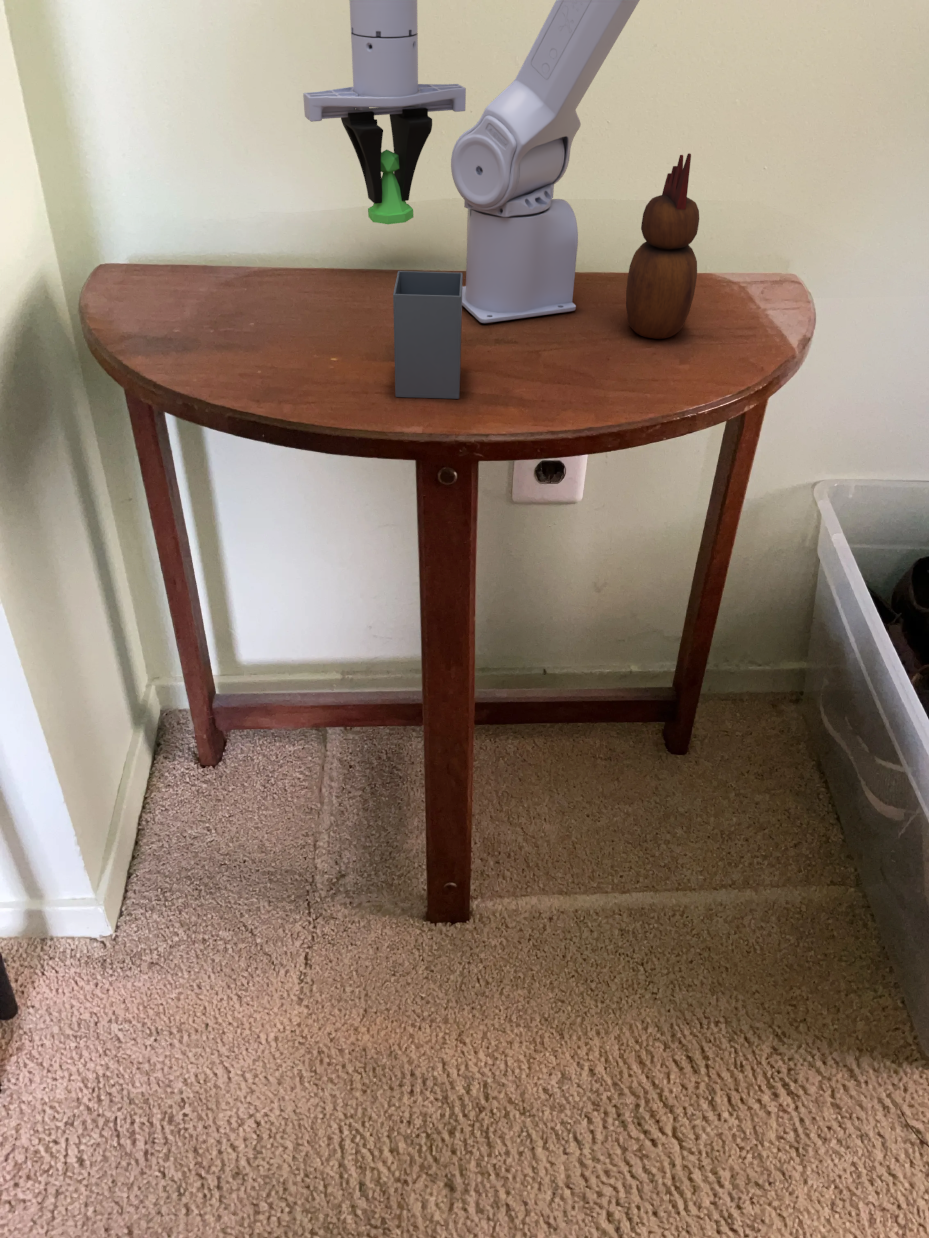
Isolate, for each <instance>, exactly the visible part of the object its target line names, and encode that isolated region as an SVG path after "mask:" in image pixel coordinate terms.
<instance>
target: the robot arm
mask: <svg viewBox="0 0 929 1238" xmlns="http://www.w3.org/2000/svg"><path fill="white" fill-rule="evenodd" d="M348 1H349V20H350V21H349V22H350V45H351V65H352V66H351V67H352V86H347V87H341V88H334V89H328V90H320V91H311V92H303V93H302V94H303V95H302V97H303V98H302V99H303V107H304V108H303V109H304V118H306V119H307V120H308V121H310V123H311V122H313V123H314V122H322V121H323V120H328V119H340V120H341V124H342V126H343V129H344V130H345V132H346V134H347V136H348V138H349V140H350V143H351V144H352V146H353V149H354V152H355V154H356V157H357V159H358V163H359V165H360V169H361V171H362V175H363V178H364V179H363V180H364V183H365V187H366V192H367V199H369V200H370V201H371V202H372V203H373V204H374V203H375V204H377V203H382V181H381V178H382V172H381V152H382V147H383V136H384V129H383V128H382V127H381V126H379V124H378V119H375V116H387V115H388V116H389V123H390V127H391V135H392V137H391V138H392V147H393V153H395V154H397V155H398V157H399V169H398V170H396V171H394V175H395V177H396V179H397V182H398V184H399V187H400V192H401V198H402V201H406V202H408V201H410V194H411V188H412V183H413V179H414V175H415V171H416V168H417V164H418V161H419V159H420V157H421V153H422V150H423V148H424V146H425V144H426V142H427V140H428V138H429V137H430V134H431V133H432V129H433V118H432V117H430V116H429V113H432V112H433V113H434V112H445V111H448V112H449V111H452V112H455V113H457V112H466V104H467V103H466V102H467V100H466V96H467V88H466V87H464V86H463V85H461V84H459V83H419V40H418V39H419V37H418V36H419V35H418V29H419V28H418V25H419V24H418V0H348ZM639 3H640V0H555V2H554V3H553V4H552V7H551V10H550V11H549V13H548V15H547V16H546V19H545V20H544V22H543V25H542V27H541V28H540V30H539V32H538V34H537V37H536V38H535V40H534V42H533V44H532V46H531V47H530V50H529V52H528V53H527V55H526V57H525V59H524V61H523V63H522V65H521V67H520V69H519V70H518V73H517V75H516V76H515V79H514V80H513V81H512V82H511V83H510V84H509V85H508V86H507V87H506V88H505V89H504V90H502V91H501V93H499V94H498V95H497V96H496V97H495V98H493V100H491V102H490V103H489V104H487V106H485V108H484V110H483V112H482V114H481V116H480V118H479V120H478V121H477V122H476V124H474V125H473V126H471V128H469V129H467V130H465V131H464V132H463V133H462V134H461V135H460V136H459V137H458V139H457V140H456V142H455V143H454V146H453V149H452V152H451V158H450V170H451V176H452V180H453V183H454V186H455V188H456V189H457V192H458V193H459V195H460V197H461V198H463V200H464V203H463V204H464V208H465V209H467V215H466V216H467V217H466V219H467V220H466V224H467V225H466V227H467V228H466V258H465V261H466V262H465V263H466V264H465V285H462V307H463V308H464V309H465V310H466V311H467V312H468V313H470V314H471V315H472V316H473V317H474V318H475V319H476V320H477V321H478V322H479V323H480V324H491V323H497V322H504V321H505V322H506V321H512V320H520V319H526V318H527V319H528V318H533V317H541V316H547V315H548V316H549V315H555V314H562V313H571V312H574V311H576V309H577V305H576V304H575V303H574V302H573V297H574V289H575V277H576V266H577V257H578V256H577V255H578V245H579V232H578V231H579V229H578V222H577V218H576V215H575V211H574V209H573V208H572V206H571V204H570V203H569V202H568V201H566V200H565V199H563V198H554V191H555V185H557V183H558V182H560V180H561V179H562V178H563V177H564V176H565V173H566V171H567V169H568V168H569V163H570V156H571V149H572V148H571V147H572V144H573V142H574V139H575V137H576V135H577V133H578V131H579V130H580V128H581V120H580V117H579V115H578V113H577V108H578V106H579V105H580V104H581V101H582V100H583V98H584V96H585V94H586V93H587V91H588V90H589V87H590V86H591V84H592V82H593V81H594V80H595V78H596V76H597V74H598V72H599V70H600V69H601V68H602V66H603V64H604V62H605V60H606V59H607V57H608V56H609V54H610V53H611V51H612V49H613V48H614V46H615V43H616V42H617V40H618V38H619V37H620V35H621V33H622V32H623V30H624V28H625V26H626V25H627V23H628V21H629V20H630V18H631V16H632V14H633V13H634V11H635V9H636V8H637V7H638V4H639Z"/></svg>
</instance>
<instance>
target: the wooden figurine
mask: <svg viewBox="0 0 929 1238" xmlns="http://www.w3.org/2000/svg"><path fill="white" fill-rule="evenodd" d="M691 160H692V154H691V153H687V155H686V158H685V161H684V155H683V154H680V155H679V157H678V161H677V165H673V166H672V168H671V172H669V173H667V174H666V178H665V181H664V186H663V189H662V193H661V194H660V195H656V196H654V197H652V198H651V199H650V200H649V201H648V203H647V204H646V205H645V208H644V210H643V213H642V218H641V223H640V224H641V227H640V230H641V234H642V237H643V239H644V240H645V241H644V242H643V243H642V244H640V245H639V247H638V248H637V249H636V250H635V252H634V254H633V255H632V258H631V261H630V264H629V268H628V274H627V280H626V288H625V309H626V317H627V321H628V325H629V327H630V328H631V329H632V331H633V332H634V333H636V334H637V335H639V336H640V337H644V338H649V339H655V340H661V339H667V338H671V337H673V336H675V335H676V334H677V333H679V332H680V331H681V330H682V328H683V326H684V325H685V323H686V322H687V318H688V316H689V313H690V312H691V308H692V305H693V304H692V303H693V301H694V296H695V291H696V285H697V279H698V260H697V257H696V255H695V252H694V249H693V248H692V247H691V246H690V245H691V243H692V242H693V241H694V240H695V238H696V237H697V235H698V230H699V225H700V209H699V207H698V204H697V203H696V201H695V200H693V199H691V198H690V197H688V189H689V180H690V172H691Z"/></svg>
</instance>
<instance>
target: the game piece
mask: <svg viewBox="0 0 929 1238" xmlns="http://www.w3.org/2000/svg"><path fill="white" fill-rule="evenodd" d="M398 169H399V157H398V155H397V154H395V153H394V151H391V150H389V149H385V150H383V151H381V173H382V174H381V181H382V203H377V204H375V203H373V205H372V206H370V207H368V208H367V216H368V218H369V219H370V221H371V222H372V223H376V224H382V225H383V224H384V225H396V224H403V223H407V222H408V221H410V220H412V219H413V218H414V208H413V207H412V206H411V205H410V204H409V203H407V201H402V198H401V192H400V187H399V184H398V182H397V179H396V177H395V175H394V171H396V170H398Z"/></svg>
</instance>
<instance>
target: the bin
mask: <svg viewBox="0 0 929 1238" xmlns="http://www.w3.org/2000/svg"><path fill="white" fill-rule="evenodd" d="M463 276H464V273H463V272H456V271H455V272H453V271H452V272H450V271H422V270H421V271H417V270H397V274H396V279H395V284H394V288H393V293H392V301H393V302H392V303H393V304H392V305H393V306H392V309H393V346H394V347H393V351H394V386H395V387H394V393H395V395H394V397H395V398H412V399H413V398H414V399H415V398H417V399H423V398H424V399H447V400H449V399H450V400H451V399H453V400H459V399H460V393H461V392H460V390H461V388H460V387H461V372H462V371H461V368H462V367H461V365H462V323H463V305H462V287H463Z"/></svg>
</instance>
